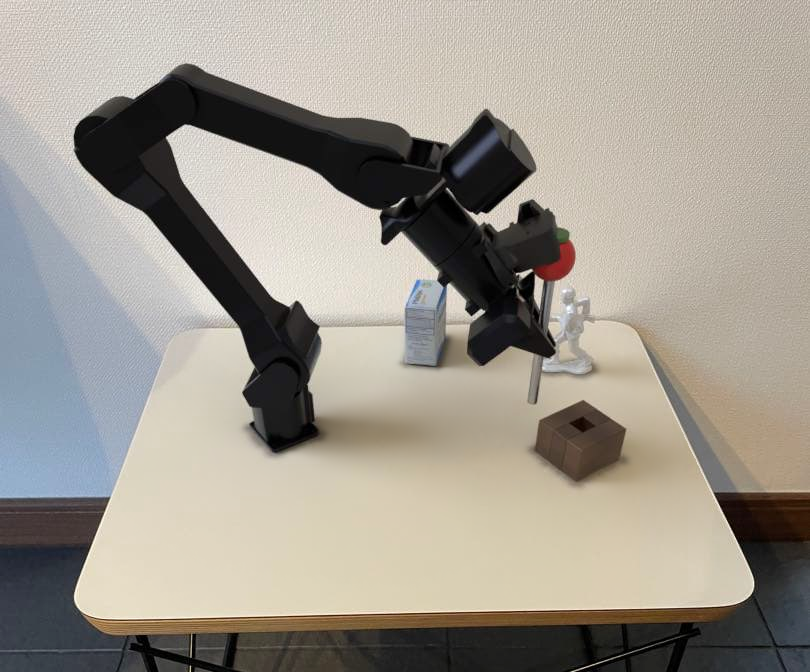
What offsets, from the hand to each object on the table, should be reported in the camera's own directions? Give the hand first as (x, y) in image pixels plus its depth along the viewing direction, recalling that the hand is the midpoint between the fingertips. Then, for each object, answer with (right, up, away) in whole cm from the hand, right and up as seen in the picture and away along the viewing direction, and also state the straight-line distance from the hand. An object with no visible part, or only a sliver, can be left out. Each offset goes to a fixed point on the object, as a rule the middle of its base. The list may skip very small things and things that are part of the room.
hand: (552, 351), depth 81 cm
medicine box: (-13, +6, +26) cm, 29 cm away
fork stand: (+5, -10, +9) cm, 14 cm away
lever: (-1, -4, +5) cm, 7 cm away
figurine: (+5, +3, +22) cm, 23 cm away
